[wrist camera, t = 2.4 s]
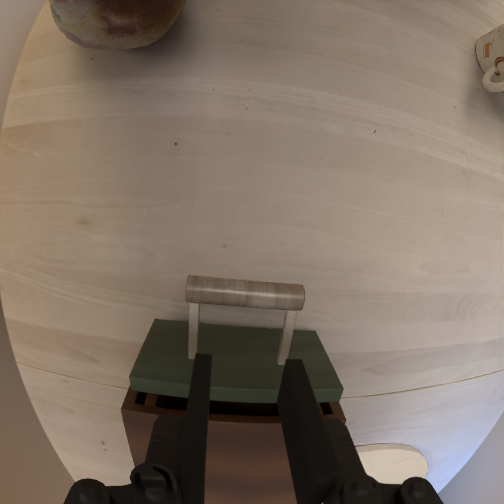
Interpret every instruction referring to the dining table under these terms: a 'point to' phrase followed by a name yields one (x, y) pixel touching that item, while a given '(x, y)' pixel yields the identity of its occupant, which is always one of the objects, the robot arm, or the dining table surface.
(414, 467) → the lazy susan
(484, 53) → the mug
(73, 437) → the dining table surface
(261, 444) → the cabinet
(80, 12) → the fruit
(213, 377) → the drawer
